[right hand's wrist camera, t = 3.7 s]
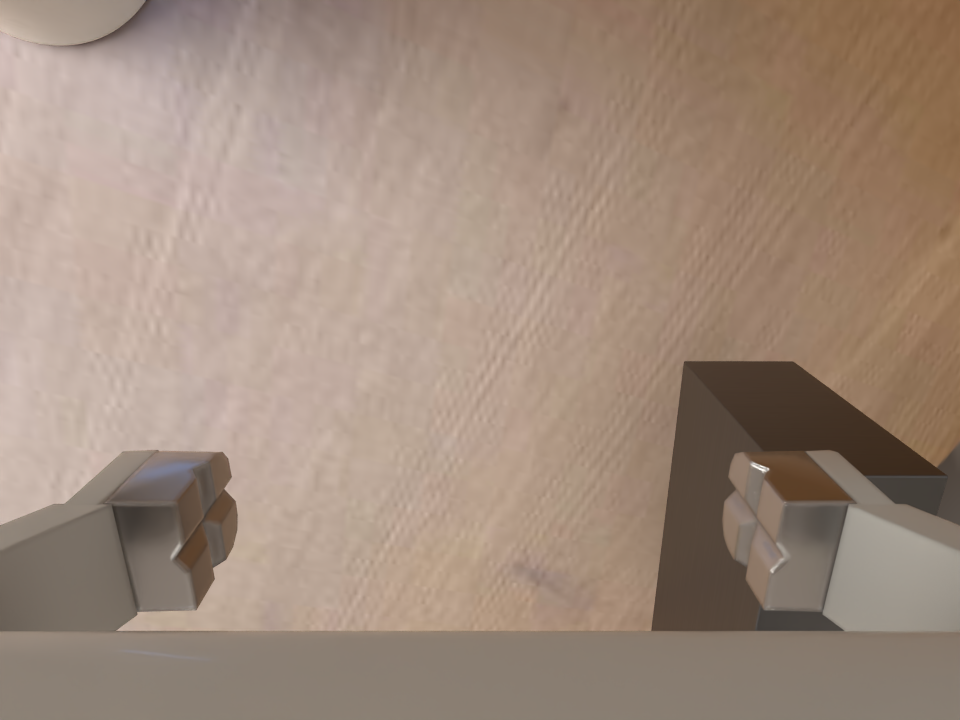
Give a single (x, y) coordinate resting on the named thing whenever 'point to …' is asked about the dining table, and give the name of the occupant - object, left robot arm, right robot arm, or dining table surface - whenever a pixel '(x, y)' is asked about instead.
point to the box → (705, 486)
